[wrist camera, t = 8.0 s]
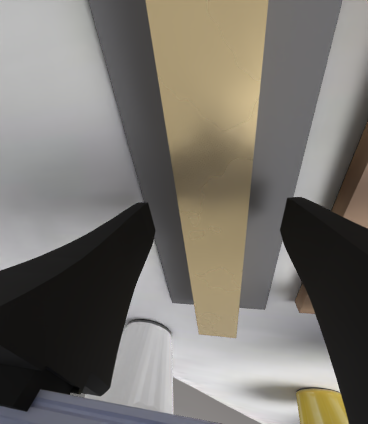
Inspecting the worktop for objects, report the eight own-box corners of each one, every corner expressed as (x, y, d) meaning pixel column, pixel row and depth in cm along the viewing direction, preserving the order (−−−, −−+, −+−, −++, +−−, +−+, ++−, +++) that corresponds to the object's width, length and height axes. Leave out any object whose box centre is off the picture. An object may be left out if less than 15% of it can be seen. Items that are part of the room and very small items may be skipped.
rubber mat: (263, 305, 17) (265, 309, 17) (173, 299, 18) (172, 302, 18) (404, -285, 4) (422, -320, 4) (57, -133, 5) (47, -147, 5)
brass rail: (232, 301, 17) (236, 338, 14) (200, 299, 17) (198, 334, 15) (258, -159, 5) (311, -447, 2) (151, -119, 5) (95, -311, 3)
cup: (154, 303, 20) (116, 437, 12) (200, 342, 24) (194, 461, 16) (99, 317, 24) (44, 424, 16) (146, 348, 28) (121, 445, 20)
